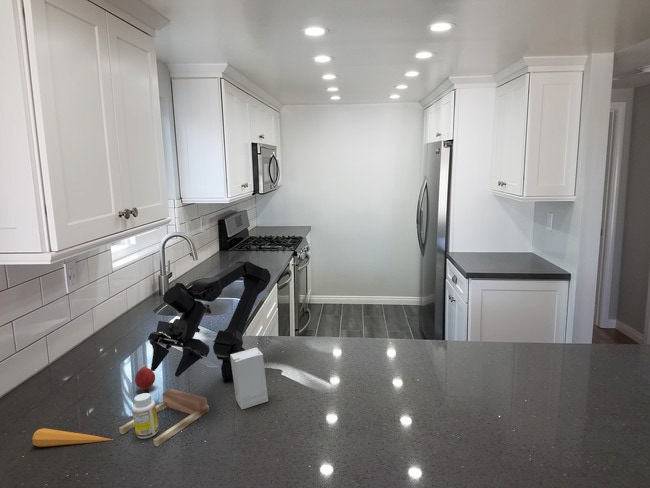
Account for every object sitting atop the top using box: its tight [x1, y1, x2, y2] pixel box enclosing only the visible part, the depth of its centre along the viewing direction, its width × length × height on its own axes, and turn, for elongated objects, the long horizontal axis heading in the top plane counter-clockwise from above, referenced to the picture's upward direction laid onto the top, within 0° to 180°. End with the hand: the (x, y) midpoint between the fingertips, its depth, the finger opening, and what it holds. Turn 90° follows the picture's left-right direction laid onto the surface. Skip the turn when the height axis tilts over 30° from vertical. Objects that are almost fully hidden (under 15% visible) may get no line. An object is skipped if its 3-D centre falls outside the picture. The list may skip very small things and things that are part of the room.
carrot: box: [31, 427, 114, 448], centre depth 116 cm, size 20×4×4 cm, turn 90°
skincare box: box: [230, 347, 269, 410], centre depth 129 cm, size 8×6×15 cm
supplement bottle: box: [131, 392, 160, 439], centre depth 117 cm, size 6×6×10 cm
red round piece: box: [134, 364, 156, 391], centre depth 142 cm, size 6×6×8 cm
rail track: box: [118, 388, 210, 447], centre depth 123 cm, size 18×14×4 cm
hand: (164, 373), depth 122 cm, fingers open, 9 cm apart
